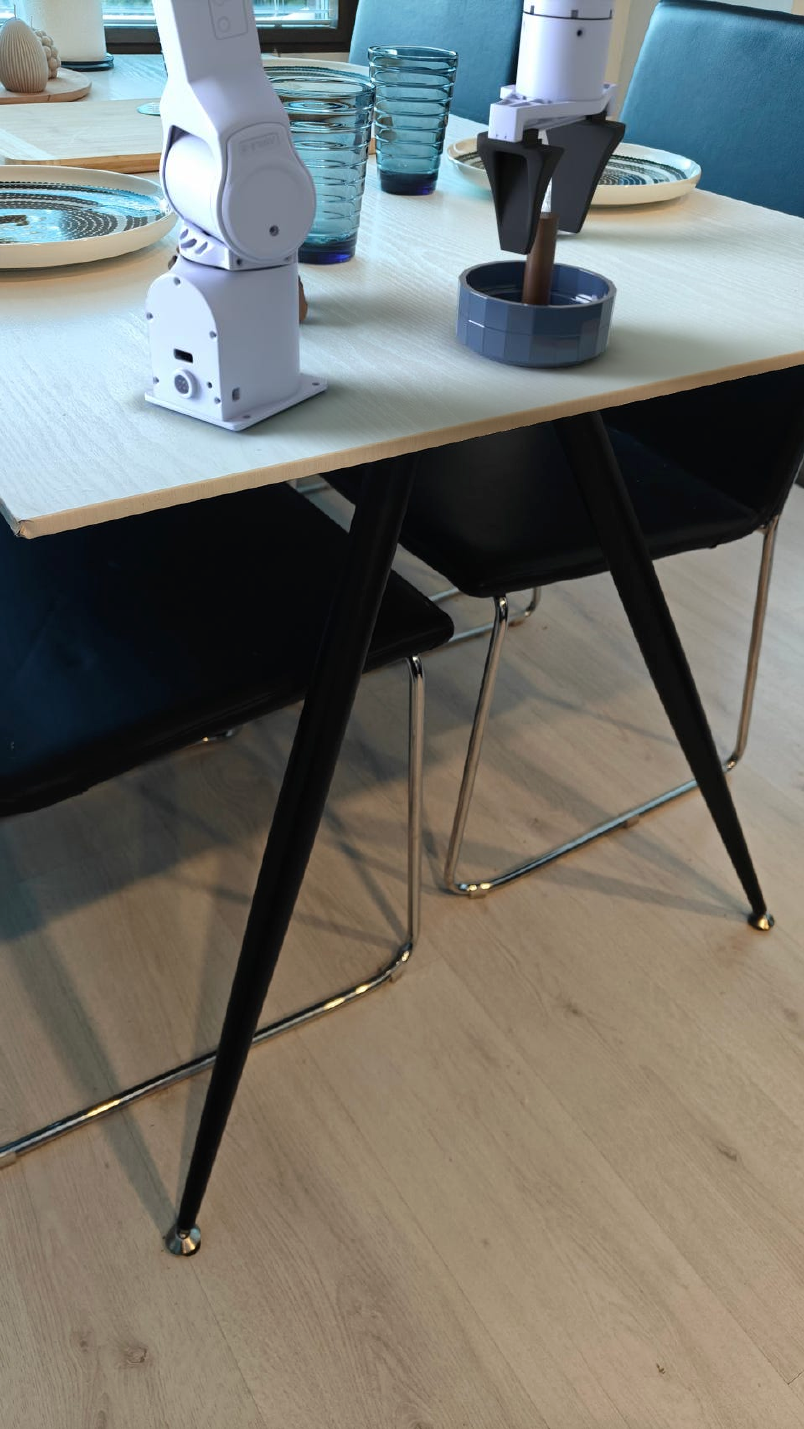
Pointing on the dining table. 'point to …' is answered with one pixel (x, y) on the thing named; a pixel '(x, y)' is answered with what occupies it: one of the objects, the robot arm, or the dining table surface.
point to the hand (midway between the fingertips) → (541, 241)
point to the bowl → (534, 315)
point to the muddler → (541, 262)
